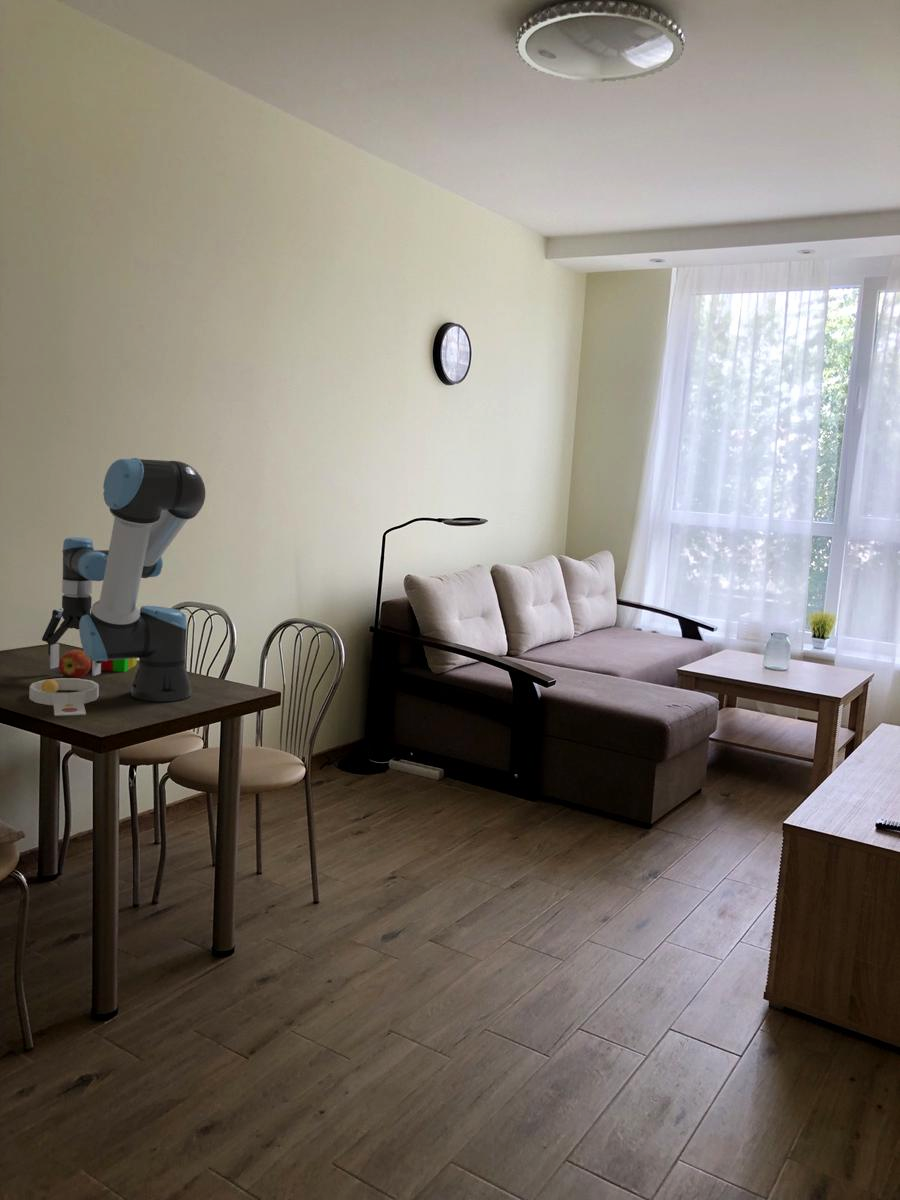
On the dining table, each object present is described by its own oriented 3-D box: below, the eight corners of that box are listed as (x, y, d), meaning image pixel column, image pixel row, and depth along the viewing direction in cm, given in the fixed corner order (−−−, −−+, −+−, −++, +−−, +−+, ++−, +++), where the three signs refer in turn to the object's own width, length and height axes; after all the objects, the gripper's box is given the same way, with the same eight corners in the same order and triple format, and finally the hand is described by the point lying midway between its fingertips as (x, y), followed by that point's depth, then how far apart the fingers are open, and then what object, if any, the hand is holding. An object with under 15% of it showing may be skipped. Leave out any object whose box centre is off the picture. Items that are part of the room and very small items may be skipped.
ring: (110, 694, 260) (111, 683, 259) (70, 708, 245) (70, 696, 244) (58, 686, 264) (59, 675, 264) (16, 699, 249) (16, 687, 249)
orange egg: (61, 694, 257) (61, 679, 257) (50, 697, 253) (51, 682, 253) (48, 692, 258) (48, 676, 258) (37, 695, 254) (37, 680, 254)
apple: (54, 680, 271) (54, 651, 270) (68, 673, 279) (68, 645, 278) (82, 682, 270) (83, 653, 269) (96, 676, 278) (96, 648, 277)
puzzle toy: (103, 662, 296) (103, 629, 294) (136, 664, 295) (137, 631, 294) (89, 669, 286) (90, 635, 284) (124, 672, 286) (125, 637, 284)
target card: (85, 714, 240) (85, 712, 240) (54, 715, 238) (54, 713, 238) (83, 704, 249) (83, 702, 249) (53, 704, 247) (53, 703, 247)
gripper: (124, 598, 271) (122, 674, 275) (47, 587, 278) (46, 662, 282) (107, 602, 264) (105, 680, 267) (29, 590, 271) (27, 667, 274)
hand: (75, 671), depth 274 cm, fingers open, 13 cm apart
